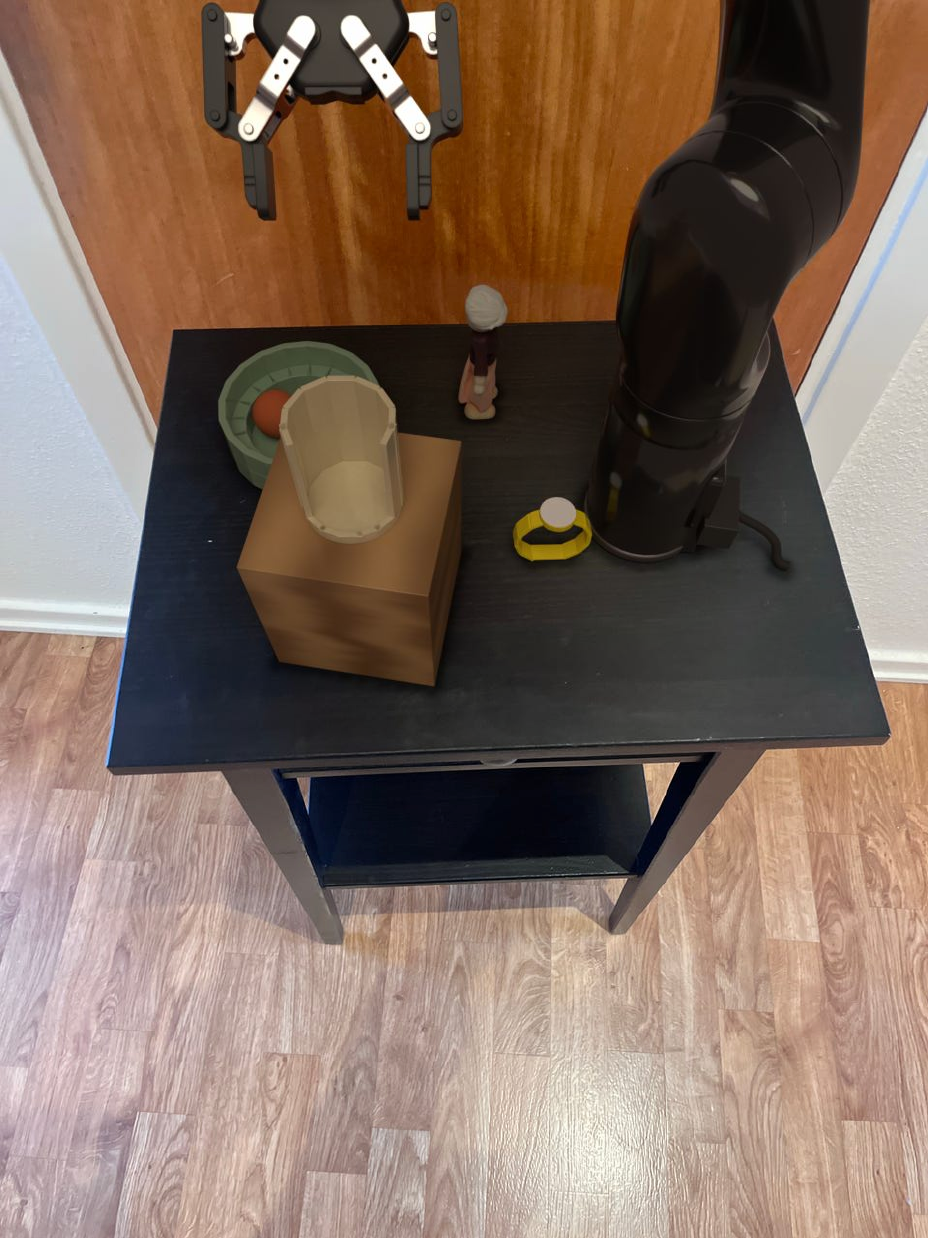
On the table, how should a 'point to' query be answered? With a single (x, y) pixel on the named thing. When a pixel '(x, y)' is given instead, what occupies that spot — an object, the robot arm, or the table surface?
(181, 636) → the table surface
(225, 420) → the bowl
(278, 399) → the ball
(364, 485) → the cup
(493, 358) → the grandmother figurine
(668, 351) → the robot arm
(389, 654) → the stand
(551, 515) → the watch
